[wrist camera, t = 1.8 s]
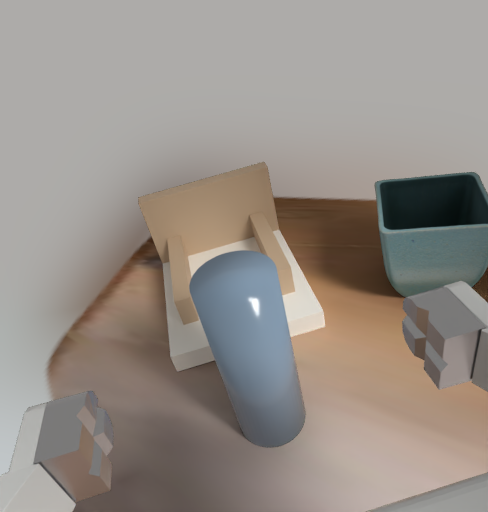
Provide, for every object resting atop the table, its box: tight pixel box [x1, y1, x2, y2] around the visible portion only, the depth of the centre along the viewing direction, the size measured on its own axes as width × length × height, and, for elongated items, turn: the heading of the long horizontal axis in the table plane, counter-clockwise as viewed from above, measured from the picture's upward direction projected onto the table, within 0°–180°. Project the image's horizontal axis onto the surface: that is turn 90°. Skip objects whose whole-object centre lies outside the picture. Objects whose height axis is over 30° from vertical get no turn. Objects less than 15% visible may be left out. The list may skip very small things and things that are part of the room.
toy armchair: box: [138, 162, 325, 372], centre depth 42 cm, size 14×16×10 cm
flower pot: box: [375, 172, 488, 297], centre depth 38 cm, size 9×9×9 cm
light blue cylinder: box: [189, 250, 305, 447], centre depth 29 cm, size 5×5×14 cm
